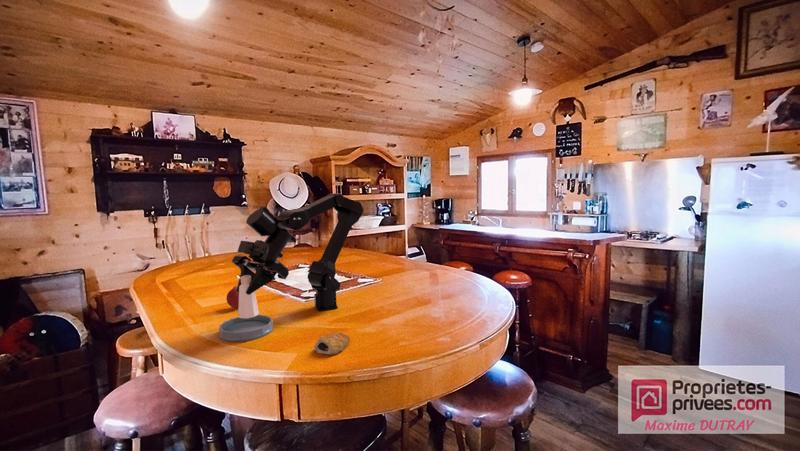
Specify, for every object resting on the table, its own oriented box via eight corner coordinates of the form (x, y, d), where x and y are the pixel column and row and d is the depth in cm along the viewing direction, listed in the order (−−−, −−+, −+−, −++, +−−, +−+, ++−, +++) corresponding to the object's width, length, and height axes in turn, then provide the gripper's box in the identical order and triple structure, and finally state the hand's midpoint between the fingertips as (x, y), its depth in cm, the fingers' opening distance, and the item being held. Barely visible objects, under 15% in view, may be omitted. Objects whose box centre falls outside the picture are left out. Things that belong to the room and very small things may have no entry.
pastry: (336, 338, 100) (336, 325, 99) (356, 343, 96) (356, 329, 96) (311, 352, 92) (311, 337, 91) (333, 358, 88) (332, 343, 88)
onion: (238, 311, 122) (237, 288, 122) (223, 310, 124) (221, 287, 123) (249, 306, 128) (247, 283, 127) (234, 305, 129) (233, 282, 129)
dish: (271, 320, 114) (270, 312, 114) (275, 336, 101) (274, 327, 101) (220, 327, 109) (220, 319, 109) (218, 345, 96) (217, 336, 96)
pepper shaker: (234, 316, 102) (230, 277, 101) (252, 310, 106) (249, 272, 105) (245, 320, 99) (242, 279, 97) (263, 314, 103) (260, 275, 102)
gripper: (235, 227, 108) (200, 273, 100) (277, 230, 98) (242, 281, 90) (260, 249, 116) (230, 293, 108) (301, 254, 105) (272, 303, 98)
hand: (242, 292), depth 101 cm, fingers closed on pepper shaker, 4 cm apart
